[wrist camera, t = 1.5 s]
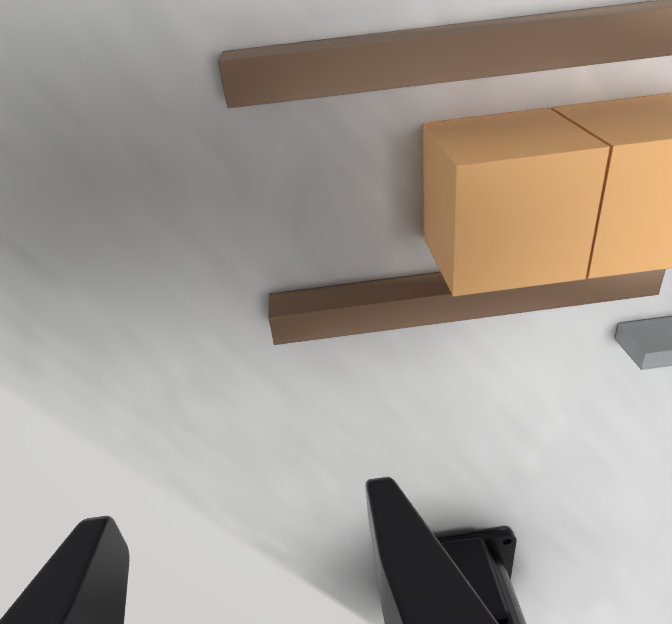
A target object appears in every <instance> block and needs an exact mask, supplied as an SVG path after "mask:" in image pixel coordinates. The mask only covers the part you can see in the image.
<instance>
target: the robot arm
mask: <svg viewBox="0 0 672 624" xmlns="http://www.w3.org/2000/svg"><path fill="white" fill-rule="evenodd" d="M366 497H367V507H368V517H369V524H370V531H371V538H372V545H373V551H374V558H375V564H376V571H377V578H378V584H379V591H380V598H381V604H382V611H383V616H384V622H385V624H526V622H525V619H524V616H523V614H522V611H521V608H520V605H519V603H518V600H517V597H516V595H515V592H514V589H513V586H512V584H511V581H510V580H511V573H512V567H513V560H514V553H515V547H516V537H515V535H514V532H513V531H512V530H509V529H505V530H498V531H491V532H484V533H477V534H470V535H462V536H455V537H448V538H441V539H437V538H436V537H435V536H434V534H433V533H432V531H431V530H430V529H429V527H428V526H427V525H426V523H425V522H424V520H423V519H422V518H421V516H420V515H419V514H418V512H417V511H416V509H415V508H414V507H413V505H412V504H411V503H410V501H409V500H408V498H407V497H406V496H405V494H404V493H403V492H402V490H401V489H400V487H399V486H398V485H397V483H396V482H395V481H394V480H393V479H392V478H390V477H383V478H375V479H369V480H368V481H366ZM128 572H129V551H128V546H127V544H126V542H125V540H124V538H123V536H122V534H121V533H120V530H119V529H118V527H117V525H116V523H115V521H114V519H113V518H111V517H110V516H100V517H93V518H87V519H84V520H83V521H81V522H80V523H79V524H78V525H77V526H76V527H75V528H74V530H73V531H72V532H71V533H70V535H69V536H68V537H67V538H66V539H65V541H64V542H63V543H62V544H61V546H60V547H59V548H58V549H57V551H56V552H55V553H54V554H53V555H52V557H51V558H50V559H49V560H48V562H47V563H46V564H45V565H44V566H43V568H42V569H41V570H40V571H39V573H38V574H37V575H36V576H35V578H34V579H33V580H32V581H31V582H30V584H29V585H28V586H27V588H26V589H25V590H24V591H23V592H22V594H21V595H20V596H19V597H18V599H17V600H16V601H15V602H14V603H13V605H12V606H11V607H10V608H9V609H8V611H7V612H6V613H5V615H4V616H3V617H2V618H1V619H0V624H124V616H125V605H126V594H127V582H128Z"/></svg>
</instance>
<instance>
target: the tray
mask: <svg viewBox="0 0 672 624" xmlns="http://www.w3.org/2000/svg"><path fill="white" fill-rule="evenodd" d="M615 340H616V341H617V342H618V343H619V344H620V346H621V347H622V348H623V349H624V350H625V352H626V353H627V354H628V355H629V356H630V357H631V359H632V360H633V361H634V362H635V363H636V364H637V366H638V367H639V368H640V369H641V370H644V369H651V368H659V367H666V366H672V316H671V317H663V318H655V319H648V320H640V321H633V322H625V323H619V324H618V328H617V332H616V336H615Z"/></svg>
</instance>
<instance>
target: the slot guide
mask: <svg viewBox="0 0 672 624" xmlns="http://www.w3.org/2000/svg"><path fill="white" fill-rule="evenodd" d="M669 55H672V0H657V1H649V2H640V3H632V4H623V5H615V6H606V7H598V8H589V9H580V10H572V11H563V12H555V13H546V14H538V15H529V16H521V17H512V18H504V19H495V20H487V21H478V22H470V23H461V24H452V25H444V26H435V27H427V28H418V29H410V30H401V31H393V32H384V33H376V34H367V35H359V36H350V37H342V38H333V39H324V40H316V41H307V42H299V43H290V44H282V45H273V46H265V47H256V48H248V49H239V50H231V51H223V52H222V54H221V56H220V59H219V61H218V62H219V67H220V72H221V77H222V82H223V87H224V92H225V97H226V102H227V108H235V107H243V106H252V105H260V104H269V103H277V102H285V101H294V100H302V99H310V98H319V97H327V96H335V95H344V94H352V93H360V92H369V91H377V90H385V89H394V88H402V87H410V86H419V85H427V84H435V83H444V82H452V81H461V80H469V79H477V78H486V77H494V76H502V75H511V74H519V73H527V72H536V71H544V70H552V69H561V68H569V67H577V66H586V65H594V64H602V63H611V62H619V61H627V60H636V59H644V58H652V57H661V56H669ZM665 270H666V269H660V270H652V271H644V272H636V273H628V274H621V275H613V276H605V277H597V278H589V279H588V278H587V277H586V279H583V280H575V281H568V282H560V283H552V284H545V285H537V286H529V287H522V288H514V289H506V290H499V291H491V292H484V293H476V294H468V295H461V296H453V295H452V293H451V291H450V289H449V287H448V285H447V283H446V281H445V279H444V277H443V275H442V273H441V272H439V273H431V274H423V275H416V276H408V277H400V278H392V279H384V280H377V281H369V282H361V283H353V284H345V285H338V286H330V287H322V288H314V289H307V290H299V291H291V292H283V293H275V294H269V322H270V327H271V332H272V337H273V343H274V345H278V344H286V343H293V342H301V341H308V340H316V339H324V338H331V337H339V336H347V335H354V334H362V333H370V332H377V331H385V330H393V329H400V328H408V327H415V326H423V325H431V324H438V323H446V322H454V321H461V320H469V319H477V318H484V317H492V316H500V315H507V314H515V313H522V312H530V311H538V310H545V309H553V308H561V307H568V306H576V305H584V304H591V303H599V302H606V301H614V300H622V299H629V298H637V297H645V296H652V295H659V291H660V288H661V284H662V281H663V277H664V273H665Z"/></svg>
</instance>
